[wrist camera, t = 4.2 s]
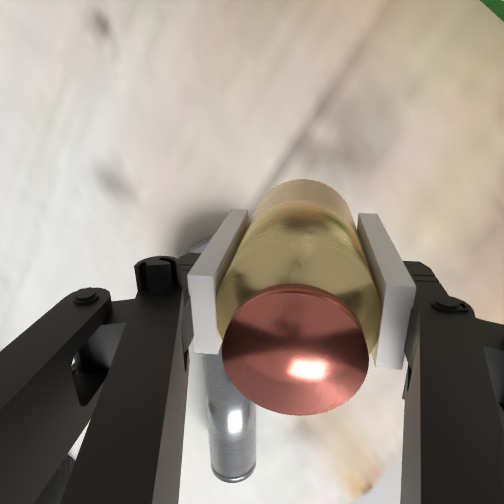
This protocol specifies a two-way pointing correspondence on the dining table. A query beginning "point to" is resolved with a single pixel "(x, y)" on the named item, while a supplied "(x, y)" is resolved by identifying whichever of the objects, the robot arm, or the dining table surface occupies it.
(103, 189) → the dining table surface
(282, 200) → the yellow jar pink lid
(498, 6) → the milk carton
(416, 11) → the dining table surface
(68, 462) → the travel mug
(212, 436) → the grey ring-headed tool
